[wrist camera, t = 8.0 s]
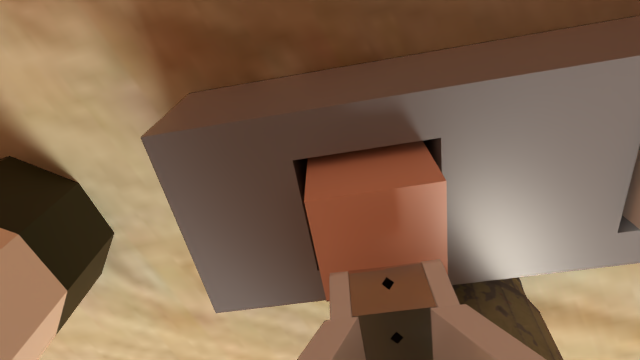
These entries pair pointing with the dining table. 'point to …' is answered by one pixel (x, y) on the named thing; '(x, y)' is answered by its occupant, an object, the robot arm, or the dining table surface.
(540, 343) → the thermos
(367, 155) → the clay key
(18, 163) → the wine bottle
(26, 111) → the dining table surface
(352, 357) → the robot arm
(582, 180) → the key panel
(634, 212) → the pale key
